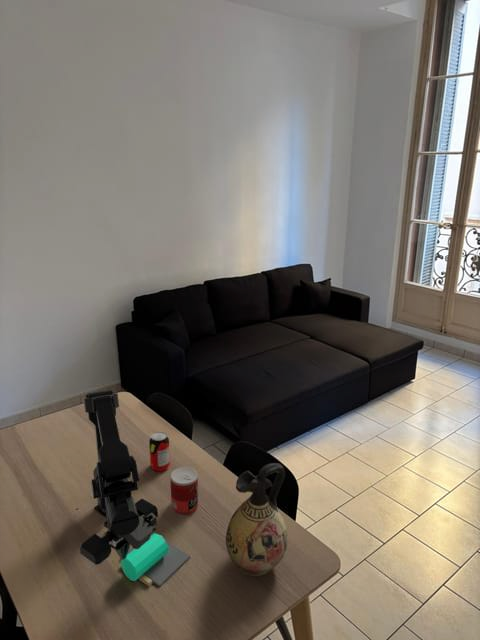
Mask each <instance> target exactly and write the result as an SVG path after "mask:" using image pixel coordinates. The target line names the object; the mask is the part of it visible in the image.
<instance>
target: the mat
mask: <svg viewBox="0 0 480 640" xmlns="http://www.w3.org/2000/svg"><path fill="white" fill-rule="evenodd" d="M154 533H155V532H153V533H152V534H151V536H152V535H153V534H154ZM164 540H165V542H166V544H167V545H168V553H167V554H166V555H165V556H164V557H163V558H161V559H160V560H159V561H158V562H157V563H156V564H154V565H153V566H152V567H151V568H150V569H149V570H147V571H146V572H145V573H144V575H145V576H147V577H148V578H149V579H151V580H152V584H155V585H156V586H158V587H159V588H160V587H162V585H164V584H165V583H166V582H167V581H168V580H170V578H171V577H172V576H173V575H174V574H175V573H176V572H177V571H178V570H179V569H180V568H181V567H182V566H184V564H185V563H186V562H187V561H188V560H190V559H191V556H190V554H188V553H186V552H185V551H183V550H181V549H180V548H178V547H177V546H176V545H173V544H172V543H170V542H169V541H167V540H166V539H164ZM133 550H134V548H133V547H132V546H131V548H129V550H128V553H127V555H128V554H129V553H130V552H131V551H133ZM121 560H122V559H121V558H120V561H121Z"/></svg>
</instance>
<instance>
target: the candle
mask: <svg viewBox="0 0 480 640" xmlns="http://www.w3.org/2000/svg"><path fill="white" fill-rule="evenodd" d="M153 533H154V534H153V535H152V536H151V537H150V539H149V540H148V541H147V542H146V543H145V544H143V545H142V546H141V547H140V548H139V549H134V550H133V551H131V552H130V553H129V554H128V555H127V557H126V558H125V559H124V560H123V559H122V560H121V559H120V567H121V570H122V571H123V573H124V575H125V576H126V577H127V578H128V579H129V580H131V581H134V582H136V581H137V580H139V579H138V578H139V577H140V576H142V575H143V574H144V573H145V572H146V571H147V570H149V569H150V568H151V567H152V566H153V565H154V564H156V563H157V562H158V561H159V560H160V559H161V558H163V557H164V556H165V555H166V554H167V553H168V545H167V544H166V542H165V540H166V539H165V538H164V537H163V535H161V534H158V533H155V532H153Z"/></svg>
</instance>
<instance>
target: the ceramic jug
mask: <svg viewBox="0 0 480 640" xmlns="http://www.w3.org/2000/svg"><path fill="white" fill-rule="evenodd" d="M274 473H277V474H276V476H275V479H274V482H273V483H272V481H271V480H270V479H268V476H269V475H271V474H274ZM285 478H286V471H285V469H284V466H283V465H282V464H280V463H277V462H270V463H267V464H265V465H263V467H261V468H260V469H259V472H258V474H257V475H254V474H253V472H251V471H249V470H245V471H243V472H242V473H241V474H240V475H239V476H238V478H237V479H236V482H235V483H236V484H235V489H236V491H237V492H239V493H241V494H242V493H243V494H246V493H252V494H251V495H250V496H249V497H248V498H246V500H244V501H243V502H242V503H241V504H240V506H238V508H237V509H235V511H234V512H233V514H232V516H231V518H230V519H229V522H228V525H227V527H226V529H227V530H226V533H225V534H226V535H225V546H226V551H227V554H228V555H229V557H230V559H231V561H232V562H233V563H234V564H235V565H236V567H237V568H238V569H239V570H240V571H241V572H242V573H243V574H245V575H247V576H251V577H259V576H263V575H265V574H266V573H269V572H270V571H271V570H272V569H274V568H275V567H276V566H278V565H279V563H280V562H281V561H282V560H283V559H284V557H285V554H286V551H287V549H288V532H287V531H288V530H287V526H286V523H285V520H284V518H283V517H282V515H281V513H280V511H279V510H278V506H277V497H278V495H279V493H280V490H281V487H282V485H283V483H284V480H285ZM267 489H270V491H269V492H268V494H267V492H266V491H267Z"/></svg>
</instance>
